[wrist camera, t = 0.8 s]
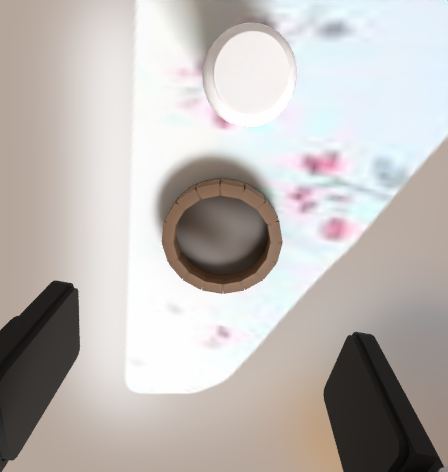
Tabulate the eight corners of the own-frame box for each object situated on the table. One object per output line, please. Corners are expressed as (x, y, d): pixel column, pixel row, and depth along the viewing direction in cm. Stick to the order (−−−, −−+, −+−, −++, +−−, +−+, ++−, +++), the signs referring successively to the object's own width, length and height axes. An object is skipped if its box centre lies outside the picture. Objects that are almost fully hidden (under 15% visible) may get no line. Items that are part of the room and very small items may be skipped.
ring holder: (173, 168, 34) (169, 173, 32) (291, 190, 35) (295, 197, 32) (162, 271, 40) (157, 282, 37) (264, 289, 40) (266, 301, 38)
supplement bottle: (201, 102, 32) (179, 104, 20) (228, 30, 29) (221, -16, 17) (261, 130, 33) (274, 149, 21) (293, 63, 30) (328, 41, 18)
